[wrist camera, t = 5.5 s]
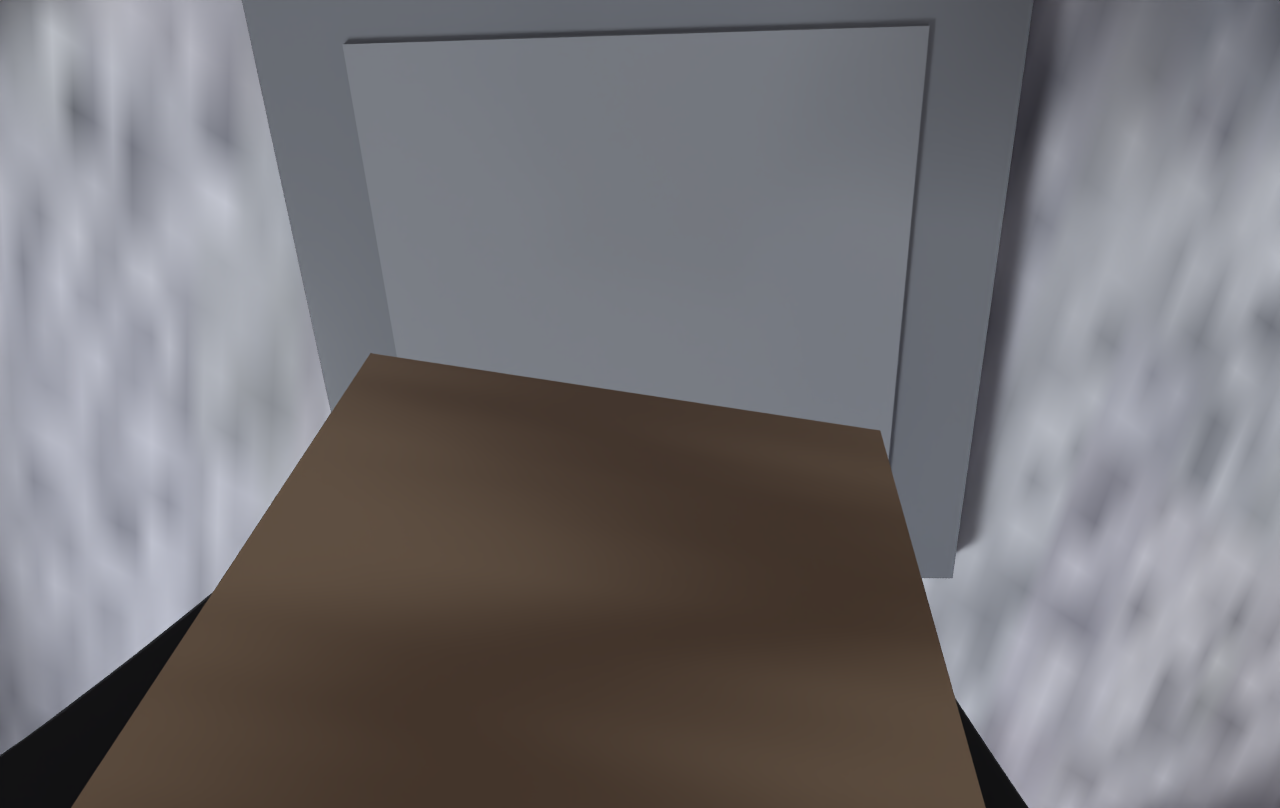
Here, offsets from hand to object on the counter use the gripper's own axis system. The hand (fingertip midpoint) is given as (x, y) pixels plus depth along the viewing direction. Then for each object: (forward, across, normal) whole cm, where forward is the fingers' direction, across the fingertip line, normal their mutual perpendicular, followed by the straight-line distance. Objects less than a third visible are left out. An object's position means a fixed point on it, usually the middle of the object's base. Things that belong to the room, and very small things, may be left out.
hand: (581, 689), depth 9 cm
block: (+2, 0, 0) cm, 2 cm away
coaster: (+10, 0, 0) cm, 10 cm away
